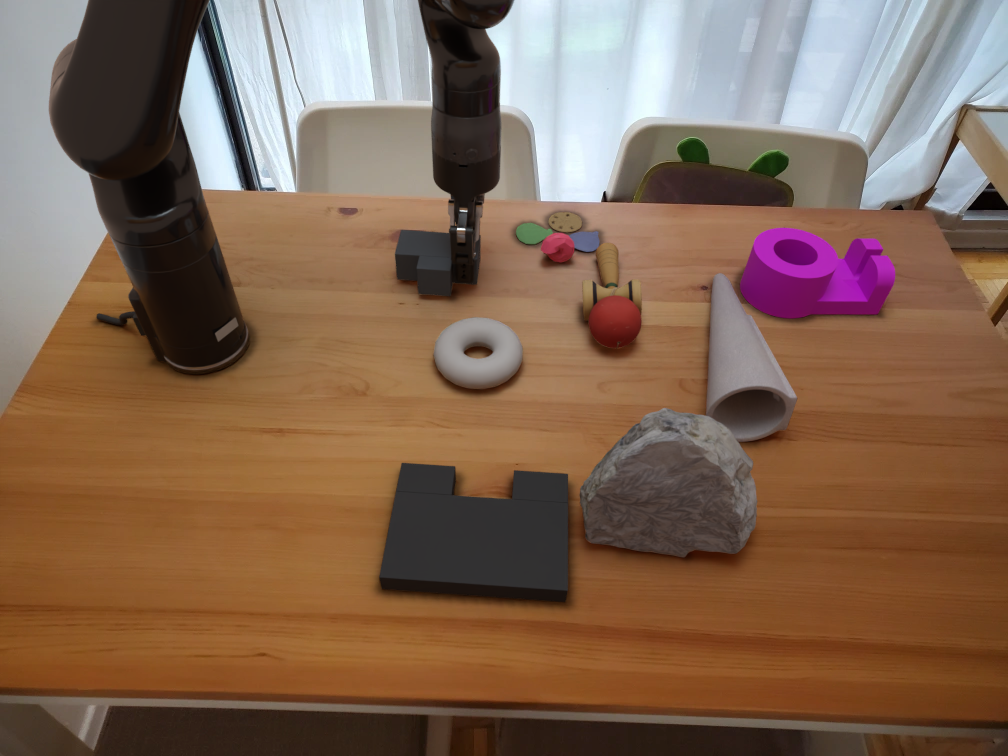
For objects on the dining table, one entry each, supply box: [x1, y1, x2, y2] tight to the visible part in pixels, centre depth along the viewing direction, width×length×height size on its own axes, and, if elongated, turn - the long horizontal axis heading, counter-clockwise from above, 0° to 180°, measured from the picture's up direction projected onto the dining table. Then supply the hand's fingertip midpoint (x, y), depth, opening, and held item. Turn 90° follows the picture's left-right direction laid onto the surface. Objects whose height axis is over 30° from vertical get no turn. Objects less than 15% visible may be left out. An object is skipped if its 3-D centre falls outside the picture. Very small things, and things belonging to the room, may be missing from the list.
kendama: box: [581, 242, 643, 350], centre depth 87 cm, size 8×6×18 cm
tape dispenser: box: [739, 227, 896, 319], centre depth 89 cm, size 16×10×6 cm, turn 91°
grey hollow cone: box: [705, 272, 798, 443], centre depth 82 cm, size 8×9×26 cm
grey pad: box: [394, 229, 482, 297], centre depth 89 cm, size 10×8×4 cm
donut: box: [432, 316, 524, 390], centre depth 80 cm, size 10×4×10 cm
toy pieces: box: [515, 211, 600, 264], centre depth 96 cm, size 12×11×4 cm
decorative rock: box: [578, 407, 758, 558], centre depth 62 cm, size 16×7×15 cm, turn 82°
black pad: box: [378, 462, 569, 603], centre depth 66 cm, size 16×12×2 cm
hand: (467, 265), depth 90 cm, fingers closed on grey pad, 5 cm apart
